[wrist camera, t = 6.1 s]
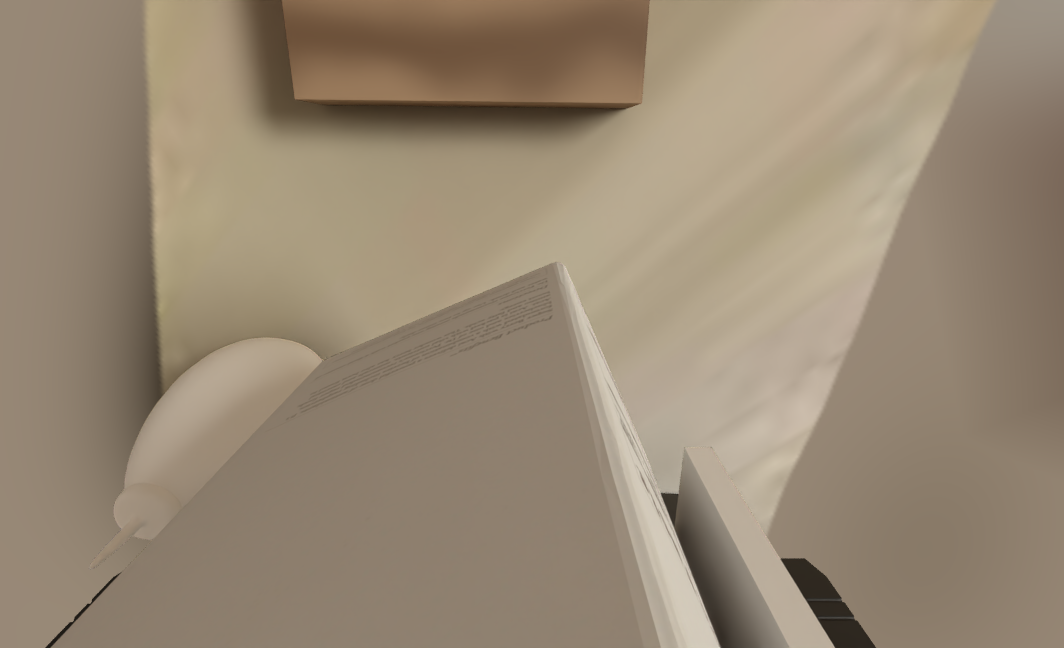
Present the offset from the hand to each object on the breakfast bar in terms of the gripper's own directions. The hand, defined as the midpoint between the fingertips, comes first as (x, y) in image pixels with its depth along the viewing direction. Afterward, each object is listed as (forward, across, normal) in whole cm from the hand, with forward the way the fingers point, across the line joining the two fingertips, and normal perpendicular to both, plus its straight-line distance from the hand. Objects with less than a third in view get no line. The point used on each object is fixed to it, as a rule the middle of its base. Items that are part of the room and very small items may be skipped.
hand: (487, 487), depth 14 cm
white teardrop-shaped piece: (+21, +15, +6) cm, 26 cm away
